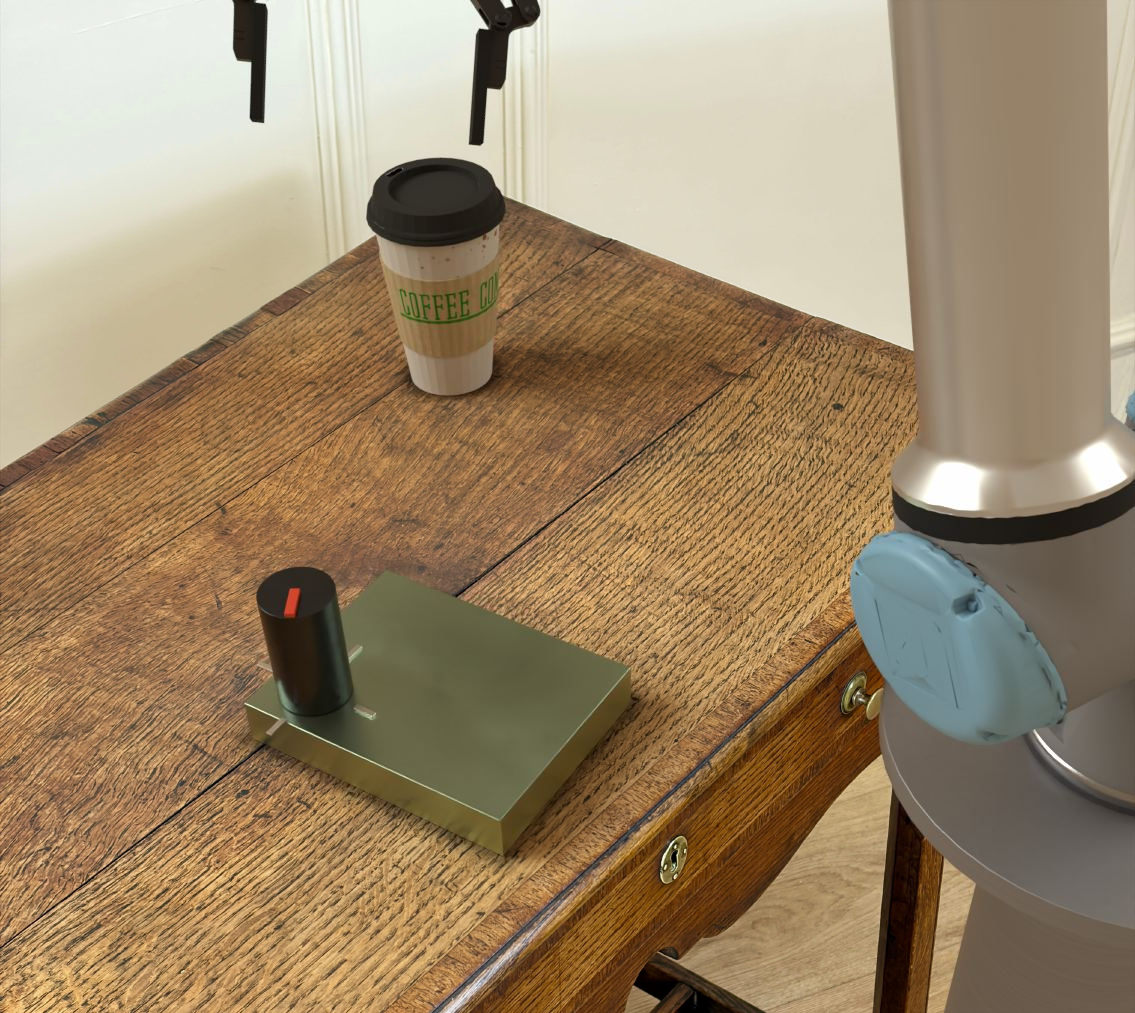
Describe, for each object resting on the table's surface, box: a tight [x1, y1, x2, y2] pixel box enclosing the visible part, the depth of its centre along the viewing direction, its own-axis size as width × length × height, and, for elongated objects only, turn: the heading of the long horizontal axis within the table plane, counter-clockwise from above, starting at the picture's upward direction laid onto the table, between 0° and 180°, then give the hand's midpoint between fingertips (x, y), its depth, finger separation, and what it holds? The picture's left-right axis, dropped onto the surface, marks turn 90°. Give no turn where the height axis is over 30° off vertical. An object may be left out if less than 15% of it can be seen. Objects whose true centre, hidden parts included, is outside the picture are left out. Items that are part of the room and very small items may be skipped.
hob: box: [243, 569, 632, 857], centre depth 94 cm, size 19×15×3 cm
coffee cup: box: [365, 157, 507, 397], centre depth 116 cm, size 10×10×15 cm
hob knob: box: [255, 566, 353, 716], centre depth 90 cm, size 4×4×8 cm
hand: (367, 133), depth 99 cm, fingers open, 13 cm apart
